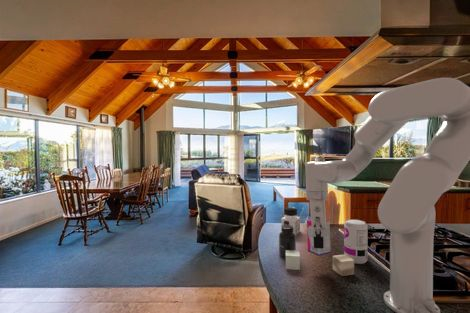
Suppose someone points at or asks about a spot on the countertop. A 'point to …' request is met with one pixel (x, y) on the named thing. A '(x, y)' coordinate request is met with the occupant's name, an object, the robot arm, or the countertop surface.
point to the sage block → (292, 260)
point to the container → (291, 219)
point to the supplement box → (325, 238)
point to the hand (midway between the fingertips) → (318, 243)
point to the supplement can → (355, 240)
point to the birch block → (343, 265)
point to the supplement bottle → (286, 240)
